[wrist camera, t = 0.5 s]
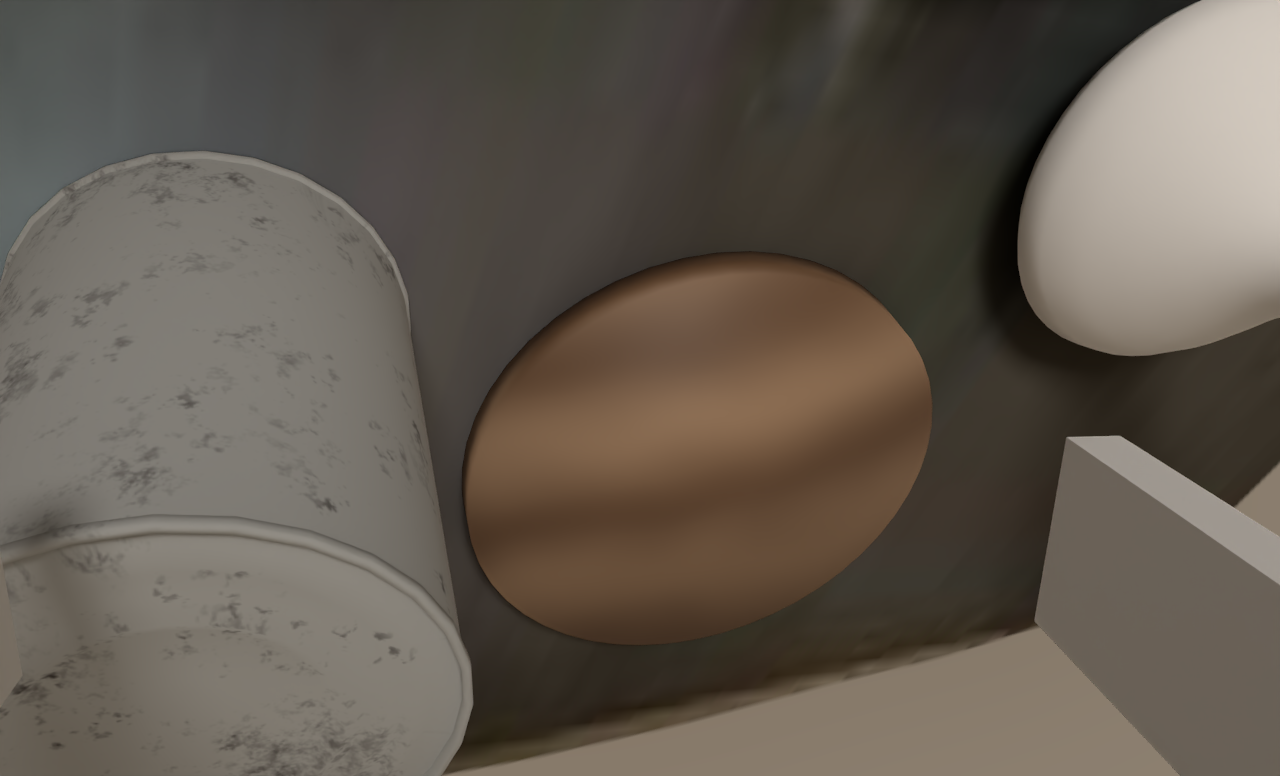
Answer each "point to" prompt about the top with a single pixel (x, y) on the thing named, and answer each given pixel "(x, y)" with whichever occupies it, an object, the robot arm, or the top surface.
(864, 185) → the top surface
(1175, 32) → the flower in vase
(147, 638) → the white speckled cylinder
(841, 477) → the walnut board
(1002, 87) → the top surface
